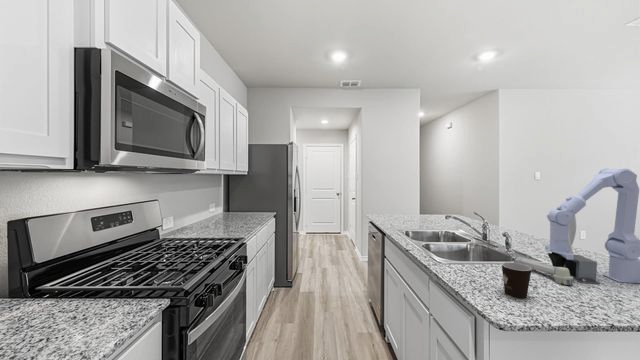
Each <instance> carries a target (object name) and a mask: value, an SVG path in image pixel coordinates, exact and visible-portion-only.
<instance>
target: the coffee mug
mask: <svg viewBox="0 0 640 360" xmlns="http://www.w3.org/2000/svg"><path fill="white" fill-rule="evenodd" d="M501 270H502V271H501V272H502V280H503V289H504V294H505V295H506V296H508V297H510V298H513V299H519V300H523V299H524V300H525V299H527V298H528V292H529V286H530V281H531V276H532V275H531V274H532V270H533V269H532V268H531V267H529V266H526V265H523V264H519V263H514V262H508V261H507V262H501Z"/></svg>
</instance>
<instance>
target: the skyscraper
mask: <svg viewBox="0 0 640 360" xmlns="http://www.w3.org/2000/svg"><path fill="white" fill-rule="evenodd" d="M560 205H561V204H560ZM560 205H558V206H560ZM576 234H577V219H576V214H575V215H574V217H573V221H572V222H571V223H569V227H568V251H569V252H570V253H571V254H573V255H575V254H574V251H573V244H574V241H575V238H576Z"/></svg>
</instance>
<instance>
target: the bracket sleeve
mask: <svg viewBox="0 0 640 360" xmlns="http://www.w3.org/2000/svg"><path fill="white" fill-rule="evenodd" d="M597 265H598V261H595V260H593V259H591V258H588V257H585V256H583V255H580V254H574V260H568V261H567V262H566V263H565V265H564V268H568V270H569V272H570V275H575V280H577V282H578V283H580V284H584V285H585V284H589V285H601V283H600V281H597V273H598V269H597V267H598V266H597Z"/></svg>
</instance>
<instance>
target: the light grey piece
mask: <svg viewBox="0 0 640 360" xmlns="http://www.w3.org/2000/svg"><path fill="white" fill-rule="evenodd" d="M513 263H519V264H523V265H526V266H529V267H531V268H532V270H534V271H535V270H536V271H539V272H543V273H547V274H551V275H552V277H553V279H554V283H555V282H556V284H559V285H561V284H564V285H565V286H573V280H574V276H571V274H570V272H569V270H568V268H564V267H555V266H553V265H552V264H548V263H543V262H540V261H537V260H532V259H529V258H527V257H526V256H525V257H524V256H516V257H514V259H513Z"/></svg>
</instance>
